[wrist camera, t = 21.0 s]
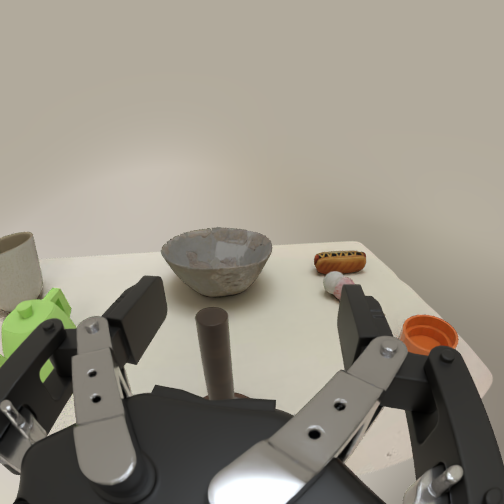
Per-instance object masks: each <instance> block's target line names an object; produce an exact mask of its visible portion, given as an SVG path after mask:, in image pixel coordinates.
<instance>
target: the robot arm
mask: <svg viewBox="0 0 504 504" xmlns="http://www.w3.org/2000/svg"><path fill="white" fill-rule="evenodd" d="M166 315H167V302H166V297H165V292H164V287H163V281H162V279H161V277H159V276H143V277H142V279H141V280H140V281H139V282H138V283H137V284H136V285H134V286H132V287H130V288H128V289H127V290H125V291H124V292H123V293H122V294H121V296H120V297H119V298H118V299H117V300H116V301H115V302H114V303H113V304H112V305H111V306H110V307H109V309H108V310H107V311H106V312H105V313H104V314H103V315H102V316H101V317H100V316H94V317H90V318H87V319H85V320H83V321H82V322H81V323H80V324H79V325H78V326H77V328H74V329H65V328H64V325H63V323H62V321H61V320H60V319H57V318H52V319H48V320H45V321H43V322H42V323H40V324H39V325H38V326H37V327H36V328H35V329H34V331H33V332H32V333H31V334H30V335H29V336H28V337H27V338H26V339H25V340H24V341H23V342H22V343H21V345H20V346H19V347H18V348H17V349H16V350H15V351H14V352H13V353H12V355H11V356H10V357H9V358H8V359H7V360H6V361H5V363H4V364H3V365H2V366H1V367H0V463H1V464H2V465H4V466H5V467H6V468H7V469H8V470H9V471H11V472H12V473H13V474H16V475H20V485H19V490H18V494H17V498H16V500H15V502H14V503H13V504H386V503H385V502H384V501H383V500H381V499H380V498H379V497H378V496H377V495H376V494H375V493H374V492H373V491H372V490H371V489H370V488H368V486H366V485H365V484H364V483H363V482H362V481H361V480H360V479H359V478H358V477H357V476H356V475H355V474H354V473H353V472H352V471H351V470H350V469H349V468H348V467H347V466H346V465H345V463H346V461H347V460H348V459H349V458H350V456H351V455H352V454H353V452H354V451H355V449H356V448H357V446H358V445H359V443H360V442H361V440H362V439H363V437H364V436H365V435H366V433H367V432H368V430H369V429H370V428H371V426H372V425H373V423H374V422H375V420H376V419H377V417H378V416H379V414H380V413H381V411H382V410H383V408H384V407H391V408H397V409H403V410H405V413H406V418H407V423H408V429H409V434H410V440H411V446H412V453H413V459H414V467H415V475H416V482H414V483H413V484H412V485H411V486H410V487H409V488H408V489H407V491H406V492H405V494H404V497H403V504H504V465H503V461H502V458H501V454H500V451H499V447H498V445H497V441H496V438H495V435H494V432H493V429H492V427H491V424H490V421H489V418H488V416H487V413H486V410H485V408H484V405H483V403H482V400H481V398H480V395H479V393H478V391H477V388H476V386H475V384H474V381H473V379H472V377H471V375H470V372H469V370H468V368H467V366H466V364H465V362H464V360H463V358H462V356H461V354H460V353H459V352H458V351H457V350H455V349H453V348H451V347H449V346H436V347H434V348H432V349H431V351H430V353H429V355H428V356H426V355H420V354H415V353H411V352H408V349H407V347H406V345H405V344H404V343H403V342H402V341H401V340H399V339H397V338H395V337H393V334H392V332H391V330H390V327H389V325H388V322H387V320H386V318H385V315H384V313H383V311H382V308H381V306H380V304H379V302H378V301H377V300H376V299H374V298H373V297H372V296H365V295H364V292H363V290H362V287H361V285H360V284H343V286H342V290H341V298H340V304H339V311H338V319H337V327H338V333H339V339H340V345H341V350H342V356H343V362H344V368H345V371H344V370H340V371H338V372H337V373H336V374H335V375H334V376H333V377H332V379H331V380H330V381H329V382H328V383H327V384H326V385H325V386H324V387H323V388H322V389H321V390H320V391H319V392H318V393H317V394H316V395H315V396H314V397H313V398H312V399H311V400H310V401H309V402H308V403H307V404H306V405H305V406H304V407H303V408H302V409H301V410H300V411H299V412H298V413H297V414H296V415H295V416H293V415H291V414H289V413H287V412H284V411H282V410H278V409H275V408H276V400H267V399H253V398H237V399H226V400H208V399H205V398H202V397H199V396H197V395H194V394H192V393H189V392H187V391H184V390H181V389H175V388H169V387H164V386H159V385H155V387H154V389H153V391H152V393H142V394H137V395H133V394H132V391H131V387H130V384H129V381H128V377H127V373H126V370H125V368H124V365H125V364H126V363H130V364H135V365H137V363H138V362H139V360H140V358H141V357H142V355H143V354H144V352H145V350H146V349H147V347H148V345H149V344H150V342H151V341H152V339H153V337H154V336H155V334H156V333H157V331H158V329H159V328H160V326H161V325H162V323H163V322H164V320H165V318H166ZM48 359H49V360H50V362H51V364H52V365H53V367H54V369H53V370H52V371H51V373H50V374H49V376H48V377H47V378H46V380H45V381H44V382H43V383H42V381H41V379H40V370H41V368H42V367H43V365H44V364H45V363H46V362H47V360H48ZM72 393H73V395H74V406H75V416H76V423H75V424H73V425H71V426H69V427H67V428H65V429H62V430H60V431H58V432H56V433H54V434H51V435H49V436H47V435H48V433H49V432H50V430H51V428H52V426H53V425H54V423H55V421H56V420H57V418H58V416H59V415H60V413H61V411H62V410H63V408H64V406H65V405H66V403H67V401H68V400H69V398H70V397H71V395H72Z"/></svg>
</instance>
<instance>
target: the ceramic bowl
mask: <svg viewBox="0 0 504 504" xmlns="http://www.w3.org/2000/svg"><path fill="white" fill-rule="evenodd" d="M271 252H272V244H271V241H270V240H269V239H268V238H267V237H266V236H264V235H262V234H260V233H257V232H252V231H247V230H242V229H233V228H220V227H217V228H212V231H211V229H210V228H207V229H202V230H194V231H190V232H186V233H184V234H181V235H180V236H179V235H178V236H175V237H174V238H173V239H170V240H169V241H168V242H167V244H164V245H163V247H162V250H161V254H162V256H163V257H164V259H165V261H166V262H167V263H168V264H169V266H170V267H171V269H172V270H173V271H174V273H175V274H176V275H177V276H178V277H179V278H180V279H181V280H182V281H183V282H184V283H185V284H187V285H188V286H189V287H191V288H192V289H193V290H195V291H196V292H198V293H200V294H202V295H205V296H209V297H218V296H227V295H235V294H238V293H241V292H243V291H245V290H246V289H247V288H248V287H249V286H250V285H251V284H252V283H253V282H254V281H255V279H256V278H257V277H258V275H259V274H260V273H261V271H262V269H263V267H264V266H265V264H266V262H267V260H268V258H269V256H270V255H271Z"/></svg>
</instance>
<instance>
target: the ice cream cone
mask: <svg viewBox="0 0 504 504" xmlns="http://www.w3.org/2000/svg"><path fill="white" fill-rule="evenodd" d="M323 284H324V288H325V290H326V291H327V292H328V293H330V294H334V296H335V297H336V298H337V299H339V300H340V298H341V290H342V286H343V284H354V282H353V281H352V280H351V279H350V278H348V277H344V275H343V274H342V273H340V272H337V271H333V272H330V273H328V274H327V275H326V276H325V278H324V282H323ZM384 315H385V314H384ZM385 316H386V315H385Z"/></svg>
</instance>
